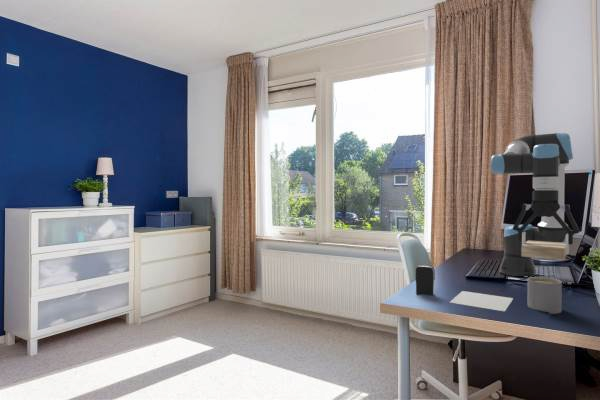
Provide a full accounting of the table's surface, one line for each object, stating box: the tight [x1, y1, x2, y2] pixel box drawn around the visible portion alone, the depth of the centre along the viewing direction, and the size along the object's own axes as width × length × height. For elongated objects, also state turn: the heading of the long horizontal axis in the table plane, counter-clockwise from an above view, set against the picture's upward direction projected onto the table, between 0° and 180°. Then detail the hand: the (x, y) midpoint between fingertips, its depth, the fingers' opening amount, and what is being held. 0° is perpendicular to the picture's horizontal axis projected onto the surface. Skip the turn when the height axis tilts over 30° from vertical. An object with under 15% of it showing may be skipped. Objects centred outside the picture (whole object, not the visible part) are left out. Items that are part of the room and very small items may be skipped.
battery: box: [415, 264, 436, 296], centre depth 153 cm, size 7×4×11 cm, turn 58°
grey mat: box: [449, 290, 514, 313], centre depth 143 cm, size 18×18×1 cm
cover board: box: [521, 240, 567, 261], centre depth 135 cm, size 16×12×4 cm
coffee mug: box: [526, 276, 563, 315], centre depth 135 cm, size 13×10×10 cm
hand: (544, 252), depth 135 cm, fingers closed on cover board, 12 cm apart
